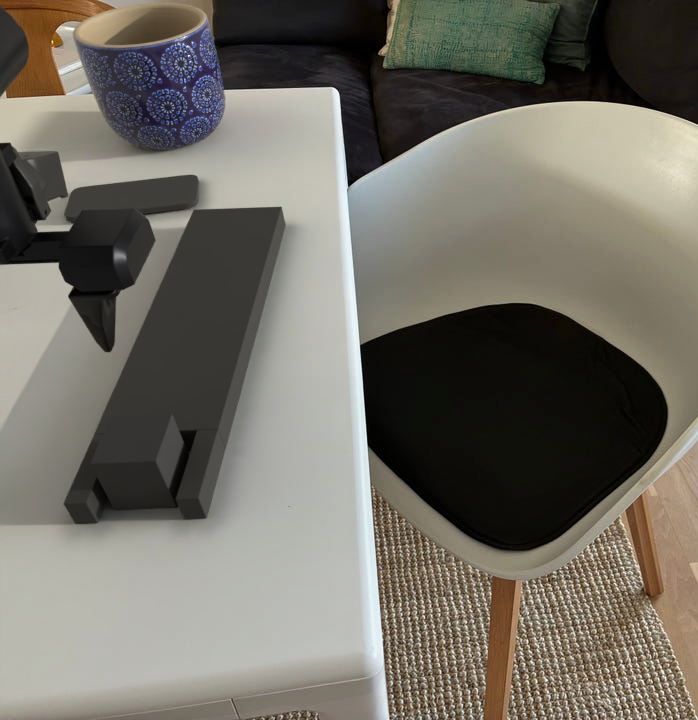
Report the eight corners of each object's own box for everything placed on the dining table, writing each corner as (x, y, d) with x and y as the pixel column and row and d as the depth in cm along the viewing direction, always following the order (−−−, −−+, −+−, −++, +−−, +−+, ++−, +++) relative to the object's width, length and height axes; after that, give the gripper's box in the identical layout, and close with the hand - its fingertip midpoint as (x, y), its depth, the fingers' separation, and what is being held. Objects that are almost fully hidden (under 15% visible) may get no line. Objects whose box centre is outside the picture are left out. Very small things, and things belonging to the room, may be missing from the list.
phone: (196, 202, 93) (62, 218, 90) (198, 208, 93) (64, 224, 91) (198, 173, 98) (72, 187, 95) (199, 179, 99) (74, 193, 96)
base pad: (207, 518, 59) (198, 498, 58) (74, 524, 59) (62, 503, 57) (285, 225, 90) (281, 206, 89) (199, 228, 90) (193, 209, 88)
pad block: (176, 507, 60) (156, 461, 56) (114, 510, 60) (89, 463, 56) (191, 460, 64) (172, 413, 60) (132, 462, 64) (109, 416, 60)
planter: (219, 160, 102) (189, 45, 92) (93, 163, 102) (49, 49, 92) (245, 106, 114) (221, 0, 104) (132, 109, 114) (97, 3, 104)
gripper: (141, 88, 52) (201, 279, 62) (-145, 97, 51) (-36, 288, 62) (85, 170, 43) (165, 375, 54) (-257, 182, 43) (-109, 385, 53)
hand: (45, 350), depth 56 cm, fingers open, 9 cm apart
